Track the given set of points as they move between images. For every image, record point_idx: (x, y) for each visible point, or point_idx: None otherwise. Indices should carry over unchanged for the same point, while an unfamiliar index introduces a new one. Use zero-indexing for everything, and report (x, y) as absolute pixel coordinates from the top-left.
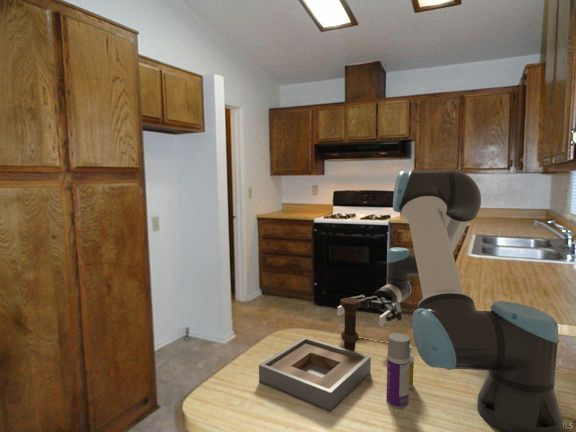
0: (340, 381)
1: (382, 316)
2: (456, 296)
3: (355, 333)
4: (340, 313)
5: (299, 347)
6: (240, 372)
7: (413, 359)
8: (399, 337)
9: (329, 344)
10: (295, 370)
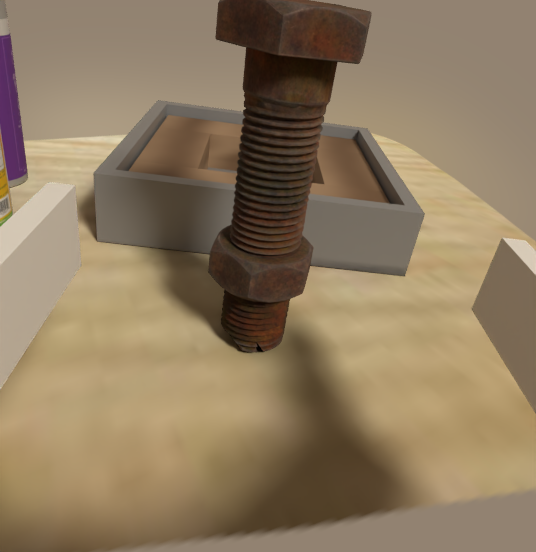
0: (152, 113)
1: (40, 191)
2: None
3: (232, 244)
4: (485, 303)
5: (381, 194)
6: (426, 185)
7: None
8: None
9: None
10: None
